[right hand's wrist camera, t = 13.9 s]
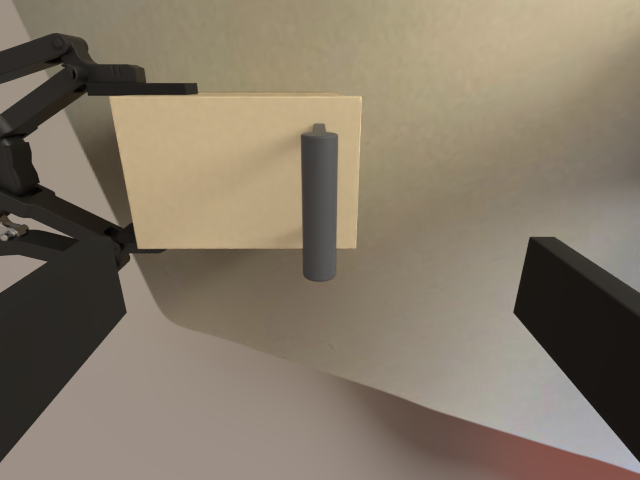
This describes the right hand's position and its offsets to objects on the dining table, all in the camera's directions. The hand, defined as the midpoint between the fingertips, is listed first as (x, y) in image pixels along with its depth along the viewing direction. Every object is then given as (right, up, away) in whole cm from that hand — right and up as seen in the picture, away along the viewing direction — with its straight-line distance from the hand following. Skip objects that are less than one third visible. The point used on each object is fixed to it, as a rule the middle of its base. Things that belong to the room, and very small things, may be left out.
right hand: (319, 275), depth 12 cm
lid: (-5, +6, +13) cm, 15 cm away
